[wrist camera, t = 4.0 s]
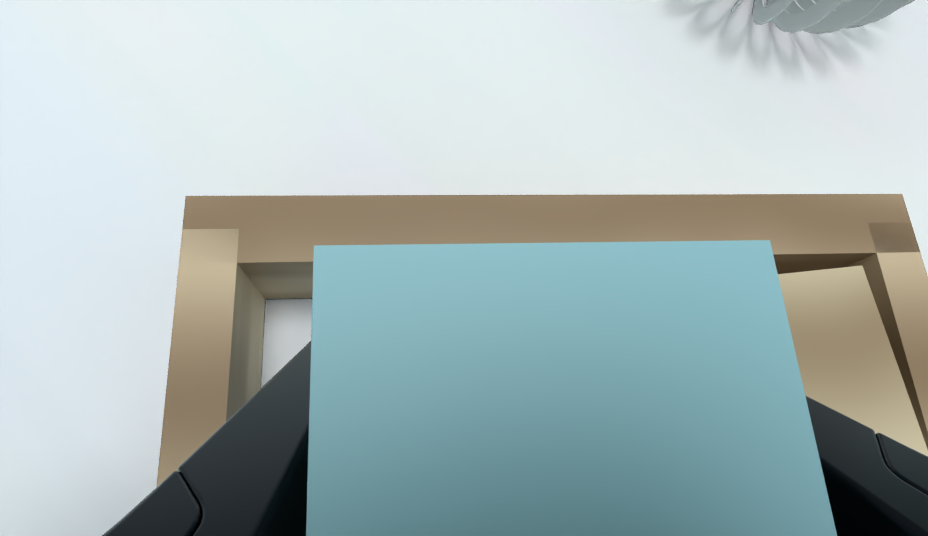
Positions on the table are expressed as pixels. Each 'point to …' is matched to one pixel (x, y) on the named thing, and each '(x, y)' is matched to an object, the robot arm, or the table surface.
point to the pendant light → (822, 13)
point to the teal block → (557, 393)
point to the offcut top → (848, 351)
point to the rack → (494, 221)
